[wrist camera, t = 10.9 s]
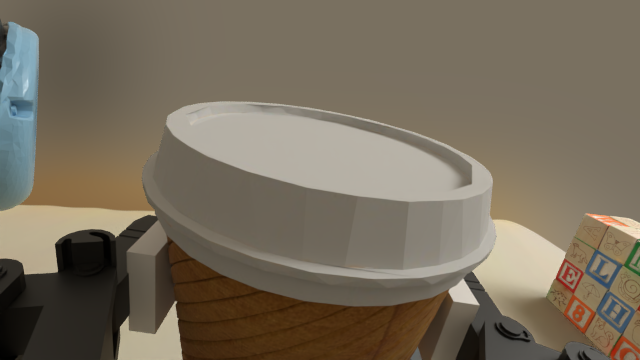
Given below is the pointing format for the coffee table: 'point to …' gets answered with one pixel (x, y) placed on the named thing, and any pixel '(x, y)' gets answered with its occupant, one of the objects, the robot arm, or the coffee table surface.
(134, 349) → the coffee table surface
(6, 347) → the robot arm
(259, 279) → the disposable coffee cup
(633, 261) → the stack of blocks
